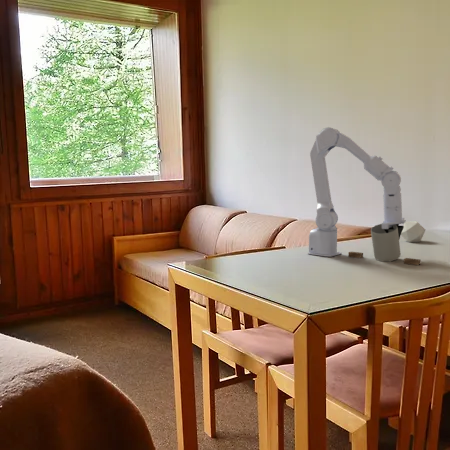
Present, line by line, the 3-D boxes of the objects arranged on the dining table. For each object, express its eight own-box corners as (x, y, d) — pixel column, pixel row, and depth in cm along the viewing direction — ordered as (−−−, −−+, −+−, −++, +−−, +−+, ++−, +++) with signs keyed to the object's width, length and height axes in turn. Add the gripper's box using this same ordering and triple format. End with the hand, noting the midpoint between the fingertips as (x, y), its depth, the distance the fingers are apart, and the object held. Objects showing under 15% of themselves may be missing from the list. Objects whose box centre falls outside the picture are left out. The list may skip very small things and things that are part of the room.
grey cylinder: (404, 251, 168) (401, 224, 165) (394, 262, 163) (391, 234, 160) (380, 249, 174) (377, 222, 171) (370, 259, 169) (366, 232, 165)
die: (424, 245, 199) (432, 224, 202) (404, 234, 198) (412, 213, 201) (412, 249, 207) (420, 228, 210) (393, 239, 206) (401, 218, 209)
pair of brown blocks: (348, 256, 174) (348, 252, 174) (351, 255, 176) (351, 251, 176) (417, 265, 158) (418, 260, 158) (420, 264, 160) (420, 259, 160)
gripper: (395, 209, 161) (397, 251, 162) (412, 204, 171) (414, 244, 173) (374, 209, 165) (376, 250, 167) (392, 205, 176) (394, 243, 177)
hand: (394, 247), depth 170 cm, fingers closed, pressing on grey cylinder
